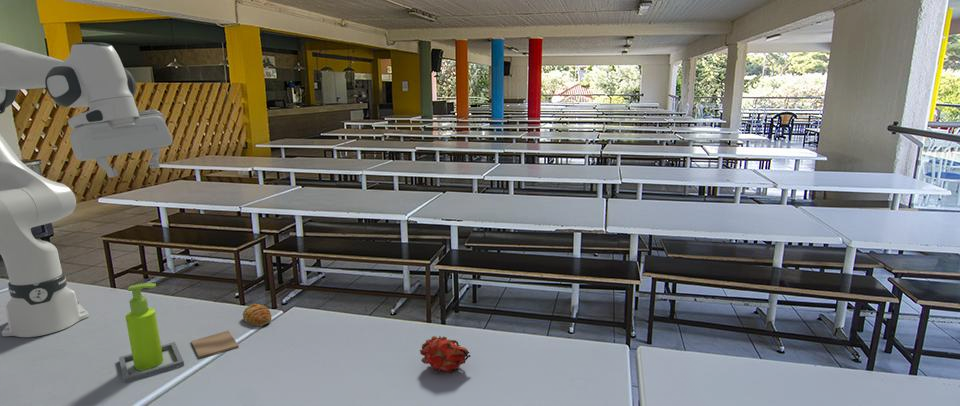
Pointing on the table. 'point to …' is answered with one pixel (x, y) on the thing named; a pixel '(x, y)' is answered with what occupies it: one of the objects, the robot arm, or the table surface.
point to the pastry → (257, 315)
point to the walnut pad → (214, 344)
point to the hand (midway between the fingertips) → (135, 172)
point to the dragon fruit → (443, 354)
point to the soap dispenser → (143, 330)
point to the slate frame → (154, 370)
